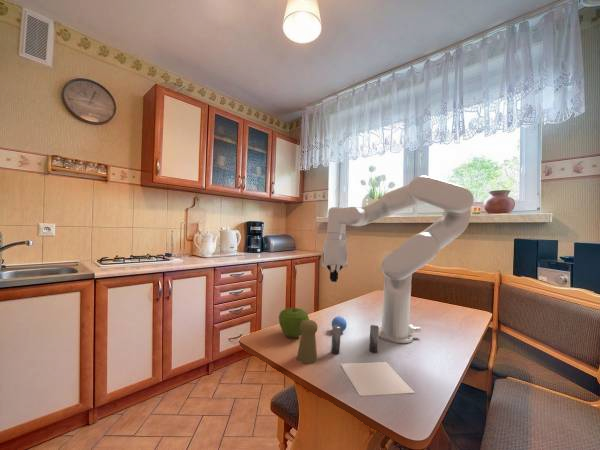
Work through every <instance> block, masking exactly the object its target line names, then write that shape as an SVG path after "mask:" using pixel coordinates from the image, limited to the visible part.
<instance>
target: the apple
mask: <svg viewBox="0 0 600 450" xmlns="http://www.w3.org/2000/svg"><path fill="white" fill-rule="evenodd" d="M304 320H310V318H309V315H308V312H307V311H305V310H303V309H302V308H297V307H287V308H285V309H283V310H281V311H280V312H279V315H278V322H279V326H280V329H281V331H282V332H283V334H284V335H286V336H287V337H288V338H290V339H295V338H298V337H301V333H302V332H301V330H300V324H301V322H302V321H304Z"/></svg>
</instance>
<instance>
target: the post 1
mask: <svg viewBox="0 0 600 450" xmlns="http://www.w3.org/2000/svg"><path fill="white" fill-rule="evenodd" d="M331 327H332V326H331ZM331 329H332V331H331V345H330V346H331V350H330V353H331V354H332V355H339V354H340V352H341V351H340V349H341V333H342V332H341V327H340V326H337V325H334V326H333V327H332V328H331Z"/></svg>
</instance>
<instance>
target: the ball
mask: <svg viewBox="0 0 600 450" xmlns="http://www.w3.org/2000/svg"><path fill="white" fill-rule="evenodd" d="M334 325H337V326H340V327H341V333H342V332H344V331H346V329H347V325H348V322H347V320H346V319H345V318H344V317H342V316H335V317H334V318H333V319H332V320H331V327H333V326H334Z"/></svg>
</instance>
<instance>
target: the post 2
mask: <svg viewBox="0 0 600 450" xmlns="http://www.w3.org/2000/svg"><path fill="white" fill-rule="evenodd" d="M379 328H380V327H379V326H378V325H376V324H371V325H370V327H369V344H368V345H369V348H368V351H369V353H371V354H378V351H379V350H378V349H379V336H378V333H379Z"/></svg>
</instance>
